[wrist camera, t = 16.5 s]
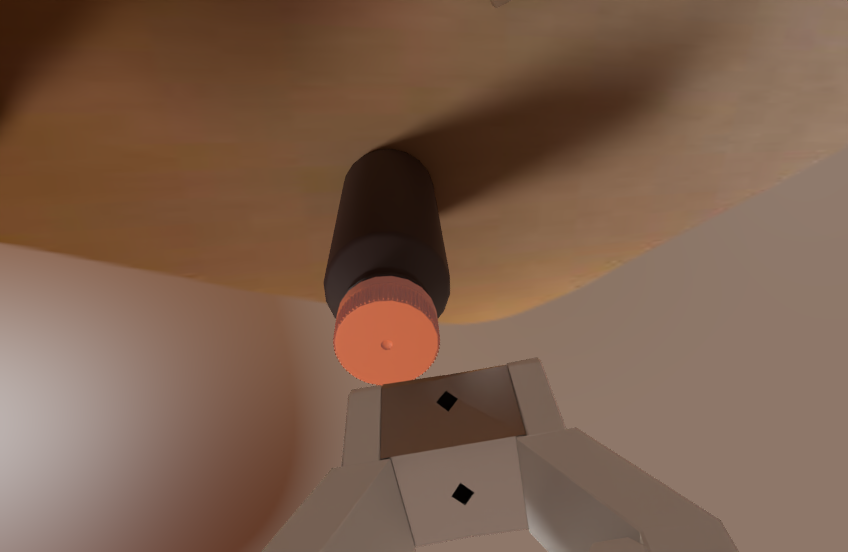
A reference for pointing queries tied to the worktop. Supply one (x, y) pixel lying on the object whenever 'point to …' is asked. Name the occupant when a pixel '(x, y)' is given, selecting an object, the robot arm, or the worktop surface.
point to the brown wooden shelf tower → (499, 2)
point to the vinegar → (387, 270)
